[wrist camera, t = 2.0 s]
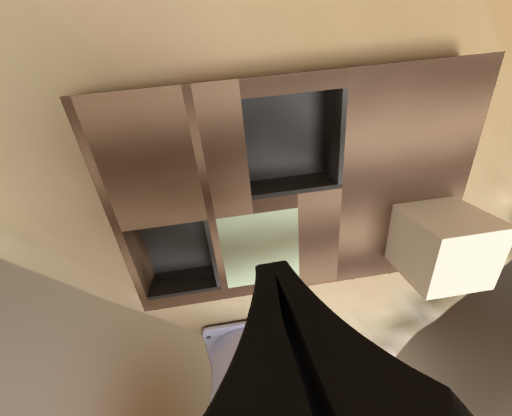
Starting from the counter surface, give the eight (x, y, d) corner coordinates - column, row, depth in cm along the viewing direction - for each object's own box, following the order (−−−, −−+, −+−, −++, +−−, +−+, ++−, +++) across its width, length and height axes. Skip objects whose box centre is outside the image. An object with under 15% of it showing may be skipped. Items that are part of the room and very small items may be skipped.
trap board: (418, 244, 24) (443, 264, 21) (154, 283, 22) (144, 311, 19) (460, 56, 17) (504, 51, 14) (88, 94, 15) (59, 96, 13)
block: (439, 248, 20) (493, 289, 16) (384, 256, 20) (425, 300, 16) (453, 196, 18) (519, 227, 14) (392, 204, 18) (442, 239, 14)
